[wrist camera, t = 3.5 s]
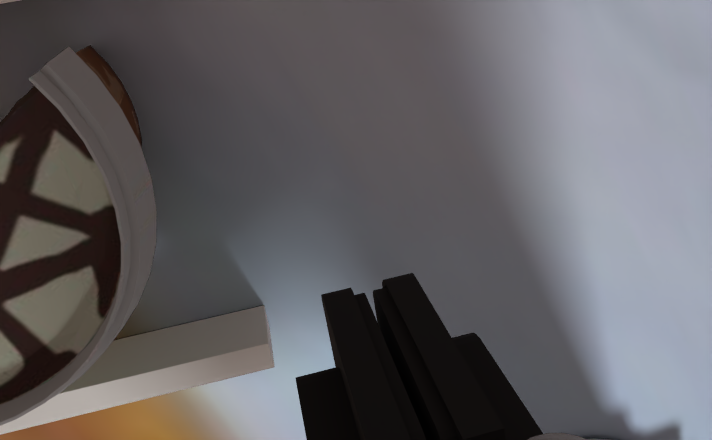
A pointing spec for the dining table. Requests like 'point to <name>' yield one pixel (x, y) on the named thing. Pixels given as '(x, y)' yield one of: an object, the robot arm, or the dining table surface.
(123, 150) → the food container
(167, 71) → the dining table surface
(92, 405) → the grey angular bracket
